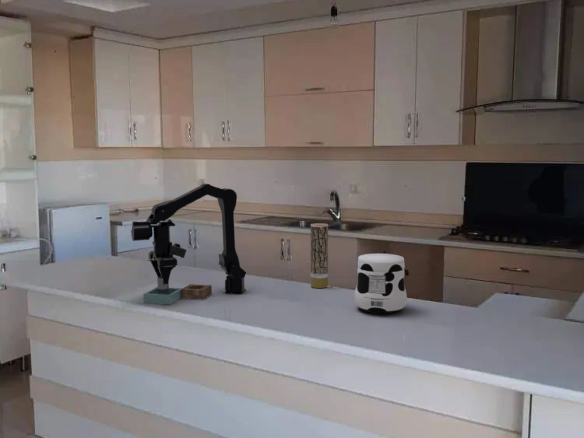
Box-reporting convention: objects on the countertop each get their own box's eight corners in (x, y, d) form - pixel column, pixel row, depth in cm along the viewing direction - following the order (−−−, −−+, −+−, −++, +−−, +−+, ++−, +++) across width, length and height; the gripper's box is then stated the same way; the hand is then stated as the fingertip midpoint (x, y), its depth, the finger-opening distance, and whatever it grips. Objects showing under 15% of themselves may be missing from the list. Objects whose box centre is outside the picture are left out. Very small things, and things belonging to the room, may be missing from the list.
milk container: (389, 301, 202) (389, 251, 200) (416, 313, 186) (417, 259, 184) (345, 306, 196) (346, 254, 194) (370, 319, 180) (370, 263, 178)
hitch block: (211, 294, 214) (211, 285, 213) (203, 299, 205) (203, 290, 205) (190, 293, 216) (190, 284, 215) (181, 298, 207) (180, 289, 207)
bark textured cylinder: (326, 289, 221) (326, 225, 218) (309, 288, 222) (309, 225, 219) (328, 285, 228) (329, 223, 225) (312, 284, 229) (312, 223, 226)
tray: (182, 297, 209) (182, 288, 209) (170, 304, 199) (170, 295, 199) (156, 295, 212) (156, 287, 211) (143, 302, 202) (143, 293, 201)
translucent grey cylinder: (171, 296, 207) (170, 276, 206) (166, 299, 203) (165, 278, 202) (161, 296, 208) (160, 276, 207) (156, 298, 204) (155, 278, 203)
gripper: (191, 240, 198) (192, 284, 200) (177, 234, 215) (178, 274, 217) (159, 243, 193) (160, 287, 195) (147, 236, 210) (149, 277, 212)
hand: (163, 281), depth 205 cm, fingers open, 9 cm apart
